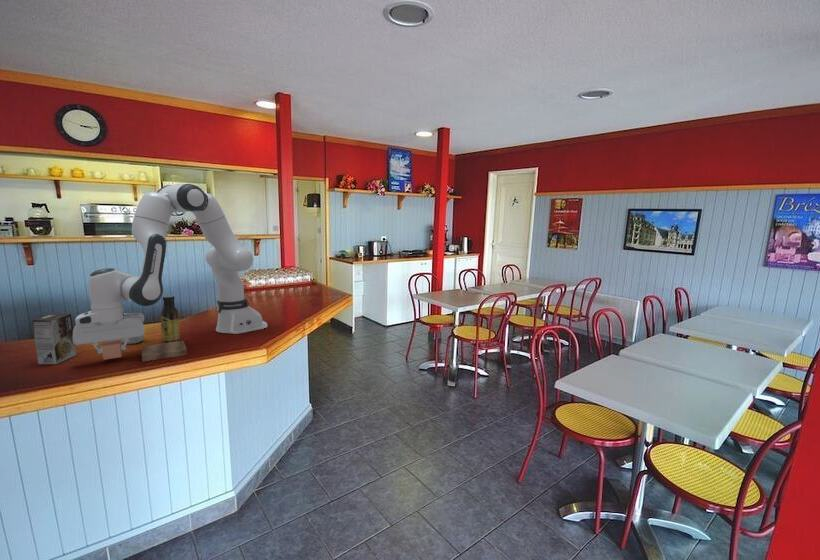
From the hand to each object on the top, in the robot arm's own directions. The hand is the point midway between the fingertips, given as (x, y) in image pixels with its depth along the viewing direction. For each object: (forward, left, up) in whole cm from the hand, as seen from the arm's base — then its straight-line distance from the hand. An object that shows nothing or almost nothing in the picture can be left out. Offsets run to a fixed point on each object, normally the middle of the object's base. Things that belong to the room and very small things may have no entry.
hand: (112, 351), depth 137 cm
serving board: (-16, 0, -3) cm, 16 cm away
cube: (0, 0, -2) cm, 2 cm away
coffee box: (+16, -11, -4) cm, 20 cm away
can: (-6, -21, -4) cm, 22 cm away
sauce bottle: (-19, -13, -4) cm, 23 cm away
